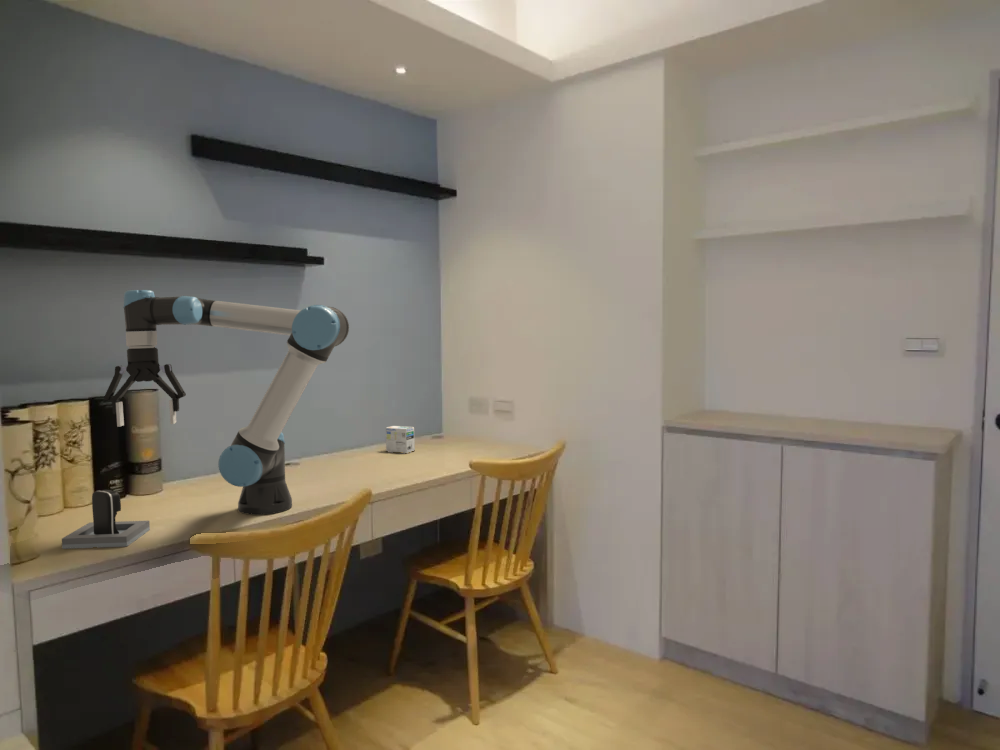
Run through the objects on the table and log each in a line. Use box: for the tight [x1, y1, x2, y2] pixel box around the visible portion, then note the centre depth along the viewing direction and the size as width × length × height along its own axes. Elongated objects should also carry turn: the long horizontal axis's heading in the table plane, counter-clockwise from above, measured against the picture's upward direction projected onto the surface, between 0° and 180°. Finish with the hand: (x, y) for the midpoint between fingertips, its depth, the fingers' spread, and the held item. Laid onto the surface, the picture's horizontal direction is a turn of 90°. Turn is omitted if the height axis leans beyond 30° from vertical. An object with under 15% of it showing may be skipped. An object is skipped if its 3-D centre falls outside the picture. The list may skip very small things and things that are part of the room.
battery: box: [91, 489, 122, 535], centre depth 176 cm, size 7×4×11 cm, turn 63°
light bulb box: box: [385, 425, 416, 454], centre depth 297 cm, size 11×7×11 cm, turn 66°
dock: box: [61, 520, 151, 550], centre depth 176 cm, size 15×14×2 cm
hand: (147, 424), depth 190 cm, fingers open, 13 cm apart
